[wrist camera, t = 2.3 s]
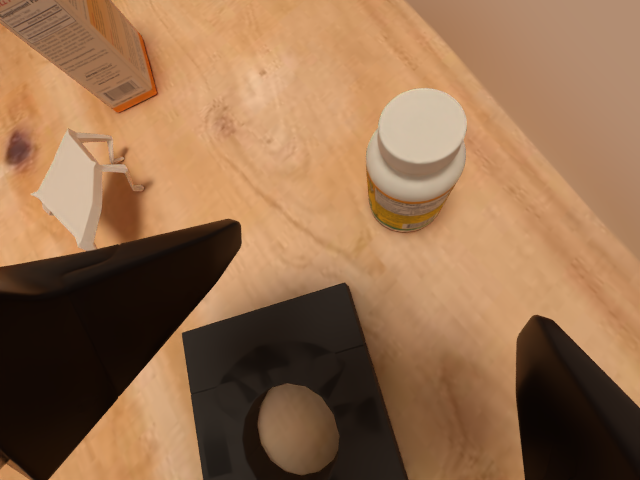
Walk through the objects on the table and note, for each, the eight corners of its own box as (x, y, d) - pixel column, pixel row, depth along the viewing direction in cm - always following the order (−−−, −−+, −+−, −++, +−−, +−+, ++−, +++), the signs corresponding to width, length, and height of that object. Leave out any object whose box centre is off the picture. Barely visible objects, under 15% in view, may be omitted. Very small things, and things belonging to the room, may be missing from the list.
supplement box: (104, 56, 33) (-63, -103, 20) (143, 36, 33) (-3, -137, 20) (116, 116, 31) (-64, -21, 18) (159, 96, 30) (4, -59, 18)
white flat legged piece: (60, 194, 30) (0, 171, 25) (130, 143, 30) (83, 110, 25) (104, 298, 26) (44, 295, 21) (184, 240, 26) (141, 224, 21)
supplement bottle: (420, 245, 22) (450, 197, 13) (356, 214, 24) (342, 150, 15) (454, 183, 23) (504, 97, 14) (388, 156, 24) (395, 61, 15)
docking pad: (428, 545, 18) (436, 579, 16) (242, 584, 20) (223, 622, 17) (348, 285, 23) (345, 282, 20) (200, 331, 24) (181, 332, 22)
